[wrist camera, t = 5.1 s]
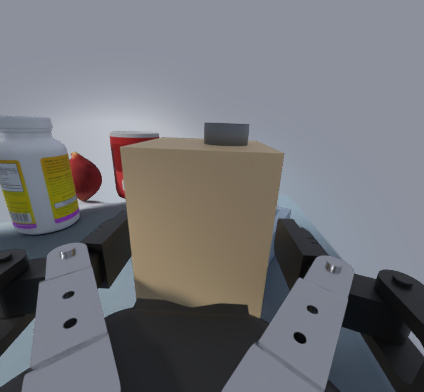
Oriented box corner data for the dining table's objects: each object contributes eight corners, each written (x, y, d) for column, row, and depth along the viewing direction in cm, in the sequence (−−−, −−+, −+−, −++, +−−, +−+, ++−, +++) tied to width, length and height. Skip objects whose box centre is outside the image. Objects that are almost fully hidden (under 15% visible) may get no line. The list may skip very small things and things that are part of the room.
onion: (95, 192, 39) (89, 148, 36) (110, 200, 35) (104, 152, 32) (58, 200, 34) (48, 151, 32) (71, 210, 31) (60, 155, 28)
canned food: (169, 194, 39) (166, 133, 35) (125, 203, 34) (117, 133, 30) (151, 185, 44) (148, 131, 41) (111, 191, 39) (103, 131, 36)
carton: (146, 394, 10) (117, 119, 6) (170, 309, 15) (162, 121, 11) (247, 401, 10) (288, 125, 6) (239, 313, 15) (258, 124, 11)
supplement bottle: (81, 210, 31) (64, 118, 27) (80, 229, 25) (58, 117, 21) (22, 218, 28) (-8, 115, 24) (7, 242, 22) (-36, 114, 18)
